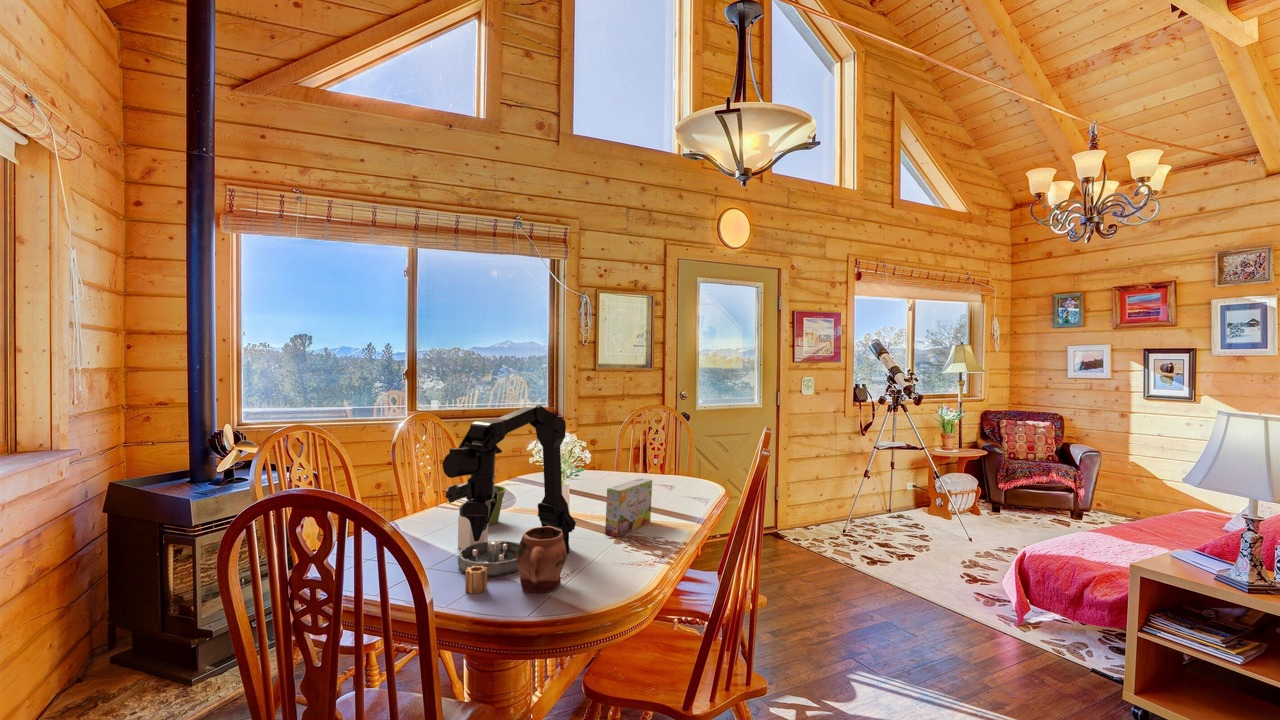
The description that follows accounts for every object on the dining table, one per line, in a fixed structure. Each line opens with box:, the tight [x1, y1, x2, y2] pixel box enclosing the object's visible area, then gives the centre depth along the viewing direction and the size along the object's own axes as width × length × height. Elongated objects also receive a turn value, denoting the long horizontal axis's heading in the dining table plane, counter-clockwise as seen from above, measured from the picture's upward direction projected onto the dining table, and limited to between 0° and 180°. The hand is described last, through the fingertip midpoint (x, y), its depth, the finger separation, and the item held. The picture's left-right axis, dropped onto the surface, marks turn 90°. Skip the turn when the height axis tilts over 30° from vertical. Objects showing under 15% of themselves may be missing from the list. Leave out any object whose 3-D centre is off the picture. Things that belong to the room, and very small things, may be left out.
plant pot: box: [488, 485, 507, 526], centre depth 199 cm, size 12×12×11 cm
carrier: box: [457, 540, 520, 578], centre depth 160 cm, size 18×18×6 cm
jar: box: [457, 503, 489, 550], centre depth 175 cm, size 9×8×12 cm
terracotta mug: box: [516, 526, 568, 594], centre depth 145 cm, size 20×12×14 cm, turn 2°
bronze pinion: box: [464, 565, 488, 595], centre depth 143 cm, size 5×5×5 cm
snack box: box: [604, 477, 653, 538], centre depth 197 cm, size 21×6×15 cm, turn 150°
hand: (479, 535), depth 147 cm, fingers open, 9 cm apart
